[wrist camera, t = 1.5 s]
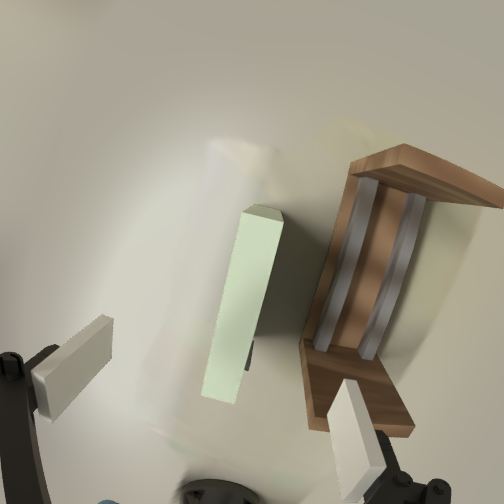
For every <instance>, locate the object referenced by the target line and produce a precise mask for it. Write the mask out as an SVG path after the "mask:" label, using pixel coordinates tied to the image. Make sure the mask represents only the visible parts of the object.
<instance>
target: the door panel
mask: <svg viewBox="0 0 504 504" xmlns="http://www.w3.org/2000/svg"><path fill="white" fill-rule="evenodd" d="M283 224H284V222H283V218H282V214H281V211H280V210H276V209H272V208H268V207H264V206H260V205H256V204H254V205H253V206H251V207H249V208H248V209H246V210H245V211H243V212H242V214H241V218H240V223H239V227H238V231H237V235H236V239H235V244H234V248H233V252H232V257H231V261H230V265H229V269H228V274H227V278H226V282H225V287H224V291H223V296H222V300H221V304H220V309H219V313H218V318H217V322H216V327H215V331H214V336H213V340H212V345H211V350H210V354H209V359H208V363H207V368H206V373H205V377H204V382H203V387H202V391H201V396H205V397H209V398H212V399H216V400H220V401H224V402H228V403H232V404H234V403H235V399H236V396H237V392H238V389H239V385H240V382H241V379H242V375H243V372H244V370H246V371H249V367H250V363H251V357H252V350H253V344H254V340H253V336H254V332H255V329H256V325H257V321H258V318H259V314H260V311H261V307H262V303H263V299H264V296H265V292H266V288H267V285H268V281H269V277H270V273H271V270H272V266H273V262H274V258H275V254H276V251H277V247H278V243H279V239H280V235H281V231H282V227H283Z"/></svg>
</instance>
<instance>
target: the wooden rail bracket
mask: <svg viewBox="0 0 504 504" xmlns="http://www.w3.org/2000/svg"><path fill="white" fill-rule="evenodd" d="M426 200H430V201H440V202H450V203H459V204H468V205H477V206H485V207H493V208H500V209H503V207H504V189H502V188H501V187H499V186H497V185H495V184H493V183H491V182H489V181H487V180H485V179H483V178H482V177H480V176H478V175H476V174H474V173H471V172H469V171H467V170H465V169H463V168H461V167H459V166H457V165H455V164H452V163H450V162H448V161H446V160H443V159H441V158H439V157H437V156H434V155H432V154H430V153H427V152H425V151H422V150H420V149H417V148H415V147H412V146H410V145H407V144H405V143H404V144H401V145H398V146H395V147H392V148H390V149H387V150H384V151H381V152H378V153H376V154H373V155H370V156H367V157H365V158H362V159H359V160H356V161H354V162H351V164H350V168H349V173H348V177H347V181H346V185H345V189H344V193H343V197H342V201H341V205H340V209H339V213H338V217H337V220H336V224H335V228H334V231H333V235H332V239H331V242H330V246H329V249H328V253H327V256H326V260H325V263H324V267H323V270H322V273H321V277H320V280H319V283H318V287H317V290H316V293H315V296H314V300H313V303H312V306H311V309H310V312H309V315H308V318H307V321H306V325H305V328H304V331H303V334H302V337H301V340H300V342H299V351H300V359H301V367H302V375H303V383H304V391H305V400H306V408H307V417H308V426H309V429H310V430H317V431H324V432H330V429H329V423H328V418H327V414H328V412H329V410H330V408H331V406H332V404H333V402H334V399H335V397H336V395H337V393H338V391H339V389H340V387H341V384H342V382H343V380H344V379H349V380H356V381H357V383H358V386H359V389H360V391H361V394H362V397H363V400H364V402H365V405H366V408H367V411H368V413H369V416H370V419H371V422H372V425H373V428H374V430H383V432H384V433H385V434H386V435H387V436H388V437H402V438H408V437H409V436H410V434H411V433H412V431H413V429H414V428H415V424H414V422H413V420H412V418H411V416H410V414H409V413H408V411H407V409H406V407H405V405H404V403H403V401H402V399H401V397H400V396H399V394H398V392H397V390H396V388H395V386H394V385H393V383H392V381H391V379H390V377H389V375H388V374H387V372H386V370H385V368H384V367H383V365H382V363H381V361H380V359H379V358H378V356H377V354H376V351H377V349H378V347H379V344H380V342H381V339H382V337H383V334H384V332H385V329H386V327H387V324H388V322H389V319H390V316H391V314H392V311H393V308H394V306H395V303H396V300H397V297H398V295H399V292H400V289H401V286H402V283H403V280H404V277H405V274H406V271H407V268H408V264H409V261H410V258H411V255H412V251H413V248H414V244H415V241H416V237H417V234H418V230H419V226H420V223H421V219H422V215H423V211H424V207H425V203H426Z"/></svg>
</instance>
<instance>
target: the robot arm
mask: <svg viewBox="0 0 504 504" xmlns="http://www.w3.org/2000/svg"><path fill="white" fill-rule="evenodd" d="M112 335H113V318H111V317H108V316H105V315H103V314H102V315H101V316H99V317H98V318H97V319H95V320H94V321H93V322H91V323H90V324H89V325H88V326H86V327H85V328H84V329H82V330H81V331H80V332H79V333H78V334H76V335H75V336H73V337H72V338H71V339H70V340H68V341H67V342H66V343H65V344H63V345H62V346H61V347H60V346H58V345H56V344H54V345H51V346H48V347H46V348H44V349H43V350H42V351H41V352H40V353H38V354H36V355H35V356H34V357H33V358H31V359H30V360H29V361H27V362H26V363H25V364H24V363H23V359H22V357H21V356H20V355H19V354H17V353H15V352H4V353H2V354H0V458H1V459H0V460H1V469H2V478H3V485H4V492H5V498H6V504H51V500H50V497H49V493H48V489H47V485H46V481H45V476H44V472H43V467H42V463H41V458H40V452H39V447H38V441H37V435H36V427H35V419H34V414H33V412H34V411H35V410H36V409H37V408H38V412H39V416H40V417H42V418H43V419H45V420H47V421H49V422H50V423H53V422H54V421H55V420H56V419H57V418H58V417H59V415H60V414H61V413H62V412H63V411H64V410H65V409H66V408H67V407H68V405H69V404H70V403H71V402H72V401H73V400H74V399H75V398H76V397H77V395H78V394H79V393H80V392H81V391H82V390H83V389H84V388H85V387H86V385H87V384H88V383H89V382H90V381H91V380H92V379H93V378H94V377H95V376H96V375H97V373H98V372H99V371H100V370H101V369H102V368H103V367H104V366H105V365H106V364H107V363H108V361H110V359H111V358H112ZM327 418H328V423H329V429H330V435H331V440H332V446H333V452H334V458H335V463H336V470H337V475H338V481H339V488H340V494H341V501H342V503H357V502H358V501H359V500H360V499H361V498H362V497H364V501H365V503H364V504H450V503H451V487H450V486H449V484H448V483H447V482H446V481H444V480H442V479H432V480H431V481H430V482H429V483H428V484H427V485H425V484H420V483H415V482H413V479H412V478H411V476H410V475H409V474H407V473H406V472H403V471H401V470H400V467H399V464H398V461H397V459H396V456H395V453H394V451H393V448H392V446H391V443H390V440H389V438H388V436H387V435H386V434H385V433H384V432H383V430H374V428H373V425H372V422H371V419H370V416H369V413H368V411H367V408H366V405H365V402H364V400H363V397H362V394H361V391H360V389H359V386H358V383H357V381H356V380H349V379H344V380H343V382H342V384H341V387H340V389H339V391H338V393H337V395H336V397H335V399H334V402H333V404H332V406H331V408H330V410H329V412H328V414H327ZM98 504H119V503H116V502H114V501H112V500H103V501H101V502H100V503H98ZM180 504H260V502H259V499H258V497H257V496H256V495H255V494H254V493H253V492H252V491H250V490H249V489H247V488H245V487H243V486H241V485H238V484H235V483H231V482H227V481H221V480H197V481H193V482H190V483H188V484H187V485H185V486H184V488H183V489H182V492H181V496H180Z"/></svg>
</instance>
